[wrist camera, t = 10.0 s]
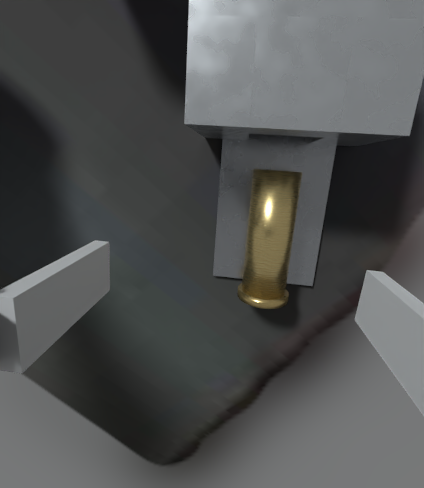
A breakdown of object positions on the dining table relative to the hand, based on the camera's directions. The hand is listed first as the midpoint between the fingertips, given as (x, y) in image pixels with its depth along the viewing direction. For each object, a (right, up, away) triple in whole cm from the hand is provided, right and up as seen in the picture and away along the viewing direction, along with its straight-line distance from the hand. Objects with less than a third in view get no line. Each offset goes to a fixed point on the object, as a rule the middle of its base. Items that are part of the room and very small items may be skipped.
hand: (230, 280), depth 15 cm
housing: (+6, +11, +17) cm, 21 cm away
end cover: (+6, +3, +19) cm, 20 cm away
